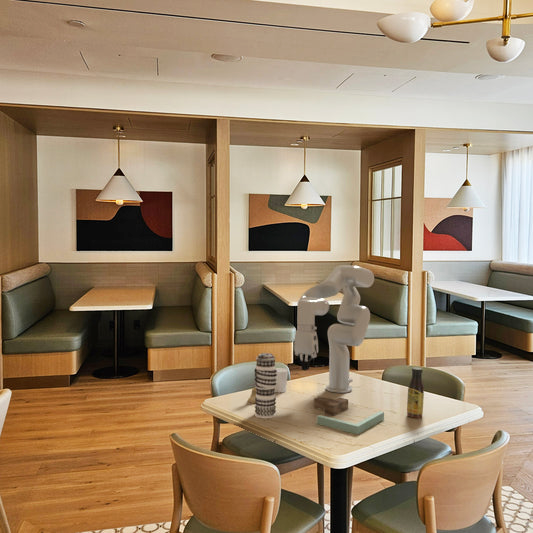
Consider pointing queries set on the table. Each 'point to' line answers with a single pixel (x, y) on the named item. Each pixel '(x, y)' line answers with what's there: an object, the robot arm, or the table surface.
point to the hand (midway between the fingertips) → (305, 369)
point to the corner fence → (349, 426)
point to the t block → (331, 405)
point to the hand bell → (253, 395)
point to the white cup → (281, 380)
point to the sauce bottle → (415, 394)
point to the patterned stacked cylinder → (265, 386)
